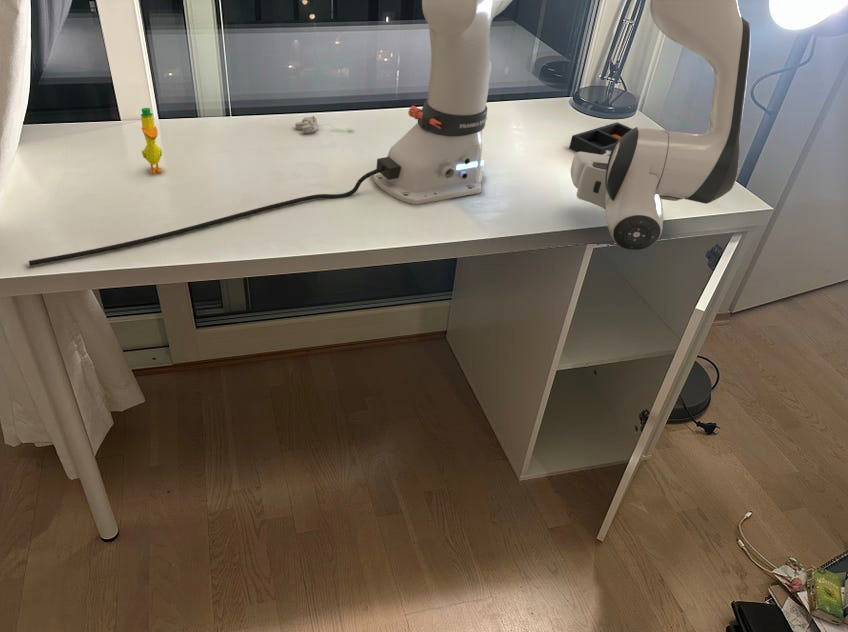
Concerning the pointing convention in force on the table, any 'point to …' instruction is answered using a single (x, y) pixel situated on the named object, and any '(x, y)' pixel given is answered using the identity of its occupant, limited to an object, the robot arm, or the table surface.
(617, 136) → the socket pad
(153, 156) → the toy figure
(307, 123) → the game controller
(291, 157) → the table surface
